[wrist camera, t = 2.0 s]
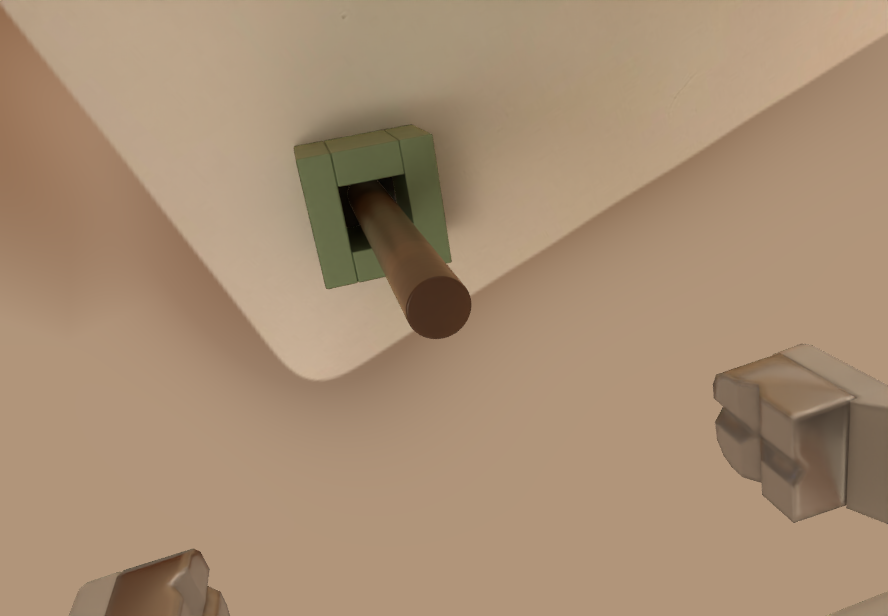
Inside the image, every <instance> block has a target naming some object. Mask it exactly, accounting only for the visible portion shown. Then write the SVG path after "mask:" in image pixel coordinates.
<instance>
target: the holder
mask: <svg viewBox="0 0 888 616" xmlns="http://www.w3.org/2000/svg"><path fill="white" fill-rule="evenodd" d="M294 153H295V159H296V164H297V168H298V172H299V176H300V181H301V185H302V189H303V193H304V198H305V202H306V206H307V210H308V214H309V219H310V223H311V227H312V231H313V236H314V240H315V244H316V248H317V253H318V257H319V261H320V265H321V269H322V274H323V278H324V282H325V286H326V289H332V288H336V287H341V286H345V285H350V284H354V283H357V282H364V281H368V280H373V279H377V278H382V277H386V276H385V274H384V272H383V270H382V268H381V266H380V264H379V262H378V260H377V258H376V256H375V254H374V252H373V250H372V248H371V246H370V244H369V242H368V240H367V238H366V236H365V234H364V232H363V230H362V228H361V225H358V226H353V227H348V228H347V227H346V223H345V218H344V213H343V209H342V204H341V199H340V195H339V190H338V187H341V186H346V185H352V184H357V183H362V182H367V181H372V180H377V179H382V178H387V177H392V180H393V185H394V191H395V197H396V202H397V204H398V206H399V207H400V208H401V209H402V211H403V212H404V213H405V214H406V215H407V217H408V218H409V219H410V220H411V221H412V223H413V224H414V225H415V226H416V228H417V229H418V230H419V231H420V232H421V234H422V235H423V236H424V237H425V239H426V240H427V241H428V242H429V243H430V245H431V246H432V247H433V248H434V250H435V251H436V252H437V253H438V254H439V256H440V257H441V258H442V259H443V260H444V262H445V263H450V262H452V260H451V254H450V247H449V241H448V234H447V228H446V221H445V215H444V208H443V202H442V195H441V188H440V182H439V175H438V169H437V162H436V156H435V149H434V143H433V136H432V134H430V133H428V132H426V131H424V130H422V129H420V128H418V127H416V126H414V125H406V126H401V127H395V128H390V129H384V131H383V130H379V131H374V132H369V133H363V134H358V135H352V136H347V137H341V138H336V139H331V140H325V141H324V142H323V141H320V142H314V143H309V144H303V145H298V146H294Z"/></svg>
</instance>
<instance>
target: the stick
mask: <svg viewBox="0 0 888 616" xmlns="http://www.w3.org/2000/svg"><path fill="white" fill-rule="evenodd" d="M347 197H348V201H349V203H350V205H351V207H352V209H353V211H354V213H355V215H356V217H357V219H358V221H359V223H360V225H361V228H362V230H363V232H364V234H365V236H366V238H367V240H368V242H369V244H370V246H371V248H372V250H373V252H374V254H375V256H376V258H377V260H378V262H379V264H380V266H381V268H382V270H383V272H384V274H385V276H386V278H387V280H388V282H389V284H390V286H391V288H392V290H393V292H394V294H395V296H396V298H397V300H398V302H399V304H400V306H401V309H402V311H403V313H404V315H405V317H406V319H407V321H408V323H409V324H410V326H411V327H412V329H413V330H414V331H415V332H417V333H418V334H419V335H422V336H423V337H426V338H431V339H441V338H445V337H449V336H451V335H453V334H455V333H456V332H457V331H459V330H460V329H461V328H462V327H463V326H464V324H465V323H466V321H467V320H468V317H469V315H470V311H471V298H470V295H469V292H468V290H467V289H466V287H465V286H464V285H463V284H462V282H461V281H460V280H459V279H458V278H457V276H456V275H455V274H454V273H453V271H452V270H451V269H450V268H449V267H448V265H447V264H446V263H445V262H444V260H443V259H442V258H441V257H440V256H439V254H438V253H437V252H436V251H435V250H434V248H433V247H432V246H431V245H430V243H429V242H428V241H427V240H426V239H425V237H424V236H423V235H422V234H421V232H420V231H419V230H418V229H417V228H416V226H415V225H414V224H413V223H412V221H411V220H410V219H409V218H408V217H407V215H406V214H405V213H404V212H403V211H402V209H401V208H400V207H399V206H398V204H397V203H396V202H395V201H394V200H393V198H392V197H391V196H390V195H389V193H388V192H387V191H386V190H385V189H384V187H383V186H382V185H381V184H380V183H379V181H377V180H372V181H367V182H362V183H357V184H352V185H350V186H349V188H348V191H347Z"/></svg>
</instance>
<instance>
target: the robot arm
mask: <svg viewBox="0 0 888 616" xmlns="http://www.w3.org/2000/svg"><path fill="white" fill-rule="evenodd" d="M713 392H714V399H715V400H716V401H718V402H719V403H720V404H721V405H722V406H723V408H722V410H721V412H720V414H719V416H718V417H717V419H716V421H715V424H716V434H717V440H718V443H719V445H720V448H721V450H722V453H723V455H724V457H725V458H726V459H727V461H728V462H729V464H730V465H731V466H732V468H734V469H735V470H736V471H737V472H738V473H739V474H740V475H741V476H742V477H744V478H747V479H751V480H754V481H757V482H761V483H762V495H763V496H764V497H765V498H767V500H769V501H770V502H771V503H772V504H773V505H774V506H775V507H776V508H778V509H779V510H780V511H781V512H782V513H783V514H784V515H786V516H787V517H788V518H789V519H790V520H791V521H792V522H793V523H795V522H798V521H801V520H804V519H807V518H810V517H813V516H815V515H818V514H821V513H824V512H827V511H830V510H833V509H836V508H839V507H842V506H845V505H847V507H846V508H848V509H850V510H853V511H856V512H858V513H861V514H863V515H866V516H868V517H871V518H874V519H876V520H879V521H881V522H884V523H887V524H888V385H886V384H884V383H882V382H881V381H879V380H876V379H875V378H873V377H871V376H869V375H867V374H865V373H864V372H861V371H860V370H858V369H856V368H854V367H852V366H850V365H848V364H847V363H845V362H843V361H841V360H839V359H837V358H835V357H833V356H832V355H830V354H828V353H826V352H824V351H822V350H820V349H818V348H816V347H815V346H813V345H807V344H800V345H797V346H794V347H791V348H789V349H786V350H783V351H781V352H778V353H775V354H773V355H772V356H770V357H767V358H764V359H761V360H758V361H755V362H752V363H749V364H746V365H743V366H740V367H737V368H734V369H731V370H729V371H726V372H723V373H720V374H717V375H716V377H715V380H714V383H713ZM208 577H209V567H208V565H207V563H206V562H205V560H204V558H203V556H202V554H201V552H200V551H197V550H195V549H190V550H187V551H184V552H181V553H178V554H174V555H171V556H168V557H165V558H162V559H158V560H155V561H152V562H149V563H145V564H142V565H139V566H136V567H133V568H129V569H126V570H124V571H123V572H117V573H114V574H111V575H108V576H105V577H102V578H99V579H96V580H93V581H90V582H87V583H86V584H85V585H84V586H82V587H81V588H80V589H79V591H78V593H77V596H76V598H75V601H74V603H73V606H72V609H71V611H70V614H69V616H230V614H229V611H228V608H227V604H226V602H225V600H224V598H223V596H222V594H221V592H220V591H218V590H215V589H213V588H211V587H209V586H207V583H208ZM827 616H888V591H887V592H885V593H883V594H880V595H877V596H875V597H872V598H870V599H867V600H865V601H862V602H860V603H857V604H855V605H852V606H850V607H847V608H845V609H842V610H840V611H837V612H835V613H832V614H830V615H827Z"/></svg>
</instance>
